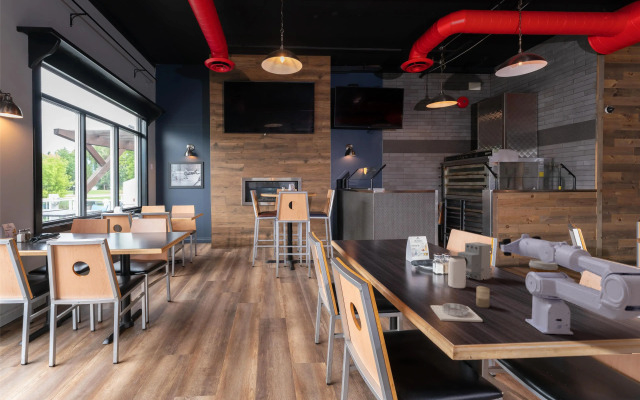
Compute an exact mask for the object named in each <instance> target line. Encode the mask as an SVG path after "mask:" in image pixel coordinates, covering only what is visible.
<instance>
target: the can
mask: <svg viewBox="0 0 640 400" xmlns="http://www.w3.org/2000/svg"><path fill="white" fill-rule="evenodd" d="M447 274H448V275H447V276H448V277H447V278H448V280H447V282H448V284H447V285H448V287H450V288H453V289H459V290H460V289H465V288H466V279H467V277H466V261H465V257H462V256H458V255H450V256H449V259H448V271H447Z"/></svg>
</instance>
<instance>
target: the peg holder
mask: <svg viewBox="0 0 640 400" xmlns="http://www.w3.org/2000/svg"><path fill="white" fill-rule="evenodd" d="M430 308H431V309H432V311H433V312H434V313H435V315H436V316H437V317H438V319H439V320H440V321H443V322H444V321H445V322H469V323H470V322H474V323H477V322H478V323H483V319H482V318H481V317H480V316H479V315H478V314H477V313H476V312H474V310H472V309H471V308H470V307H469V306H467V305H465V304H460V303H456V302H455V303H454V302H446V303H443V304H442V305H433V304H432V305H430Z"/></svg>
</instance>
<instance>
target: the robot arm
mask: <svg viewBox="0 0 640 400" xmlns="http://www.w3.org/2000/svg"><path fill="white" fill-rule="evenodd" d="M498 249H500V251H501V252H502V254H503V256H505V257H511V256H512V254H514V255H518V256H521V257H526V258H527V257H528V258H533V259H536V260H542V261H543V262H544V263H546V264H547V263H556V264H557V266H558V265H559V266H561V267H564V268H566V269H568V270H572V271H574V272H578V273H581V272H582V273H583V272H585V271H587V272H589V273H592V274H593V275H595V276H598V277H601V279H600V285H599V286H600V287H601V289H600V290H599V289H595V288H594V287H593V288H592V287H589V286H587V285H584V284H581V283H579V282H578V283H577V282H576V281H575V279H574V278H571V277H570V276H569V275H568V274H567V273H566V272H563V271H559V272H556V273H547V272H531V271H529V272H528V273H527V274H526V277H525V287H526V289H527V290H528V292H529V293H530V294H531V295H532V299H531V300H532V305H531V306H532V307H531V308H532V309H531V318H525V322H527V323H528V324H529V325H530V326H532V327H533V328H534V329H537V330H538V331H539V332H540V333H542V334H549V335H550V334H551V335H552V334H555V335H574V332H573V331H571V310H570V307H569V306H568V305H567V304H566V303H565V301H567V302H569V303H571V304H573V305H576V306H578V307H580V308H583V309H586V310H588V311H590V312H593V313H595V314H597V315H599V316H602V317H605V318H607V319H609V320H613V321H614V320H615V321H616V320H619V321H621V320H623V321H624V320H631V319H634V318H637V317H640V268H636V267H633V266H629V265H625V264H621V263H616V262H612V261H609V260H605V259H601V258H596V257H593V256H592V255H591V254H590V252H589V251H588V250H586V249H583V248H582V246H581V245H575V244H574V245H570V244H568V242H567V241H549V240H545V239H542V238H541V236H539V235H536V236H534V235H533V236H531V237H530V234H529V233H523V234H521V237H520V238H518V239H516V240H514V241H512V240H511V238H509V237H507V238H504V239H502V240H501V241H498Z"/></svg>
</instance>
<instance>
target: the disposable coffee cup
mask: <svg viewBox="0 0 640 400" xmlns="http://www.w3.org/2000/svg"><path fill="white" fill-rule="evenodd" d="M528 266H529V269H530V271H529V272H547V273H557V270H558V269H559V266H558V264H556V263H547V264H546V263H544V262H543V261H542V260H541V259H530V260H529V263H528Z"/></svg>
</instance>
